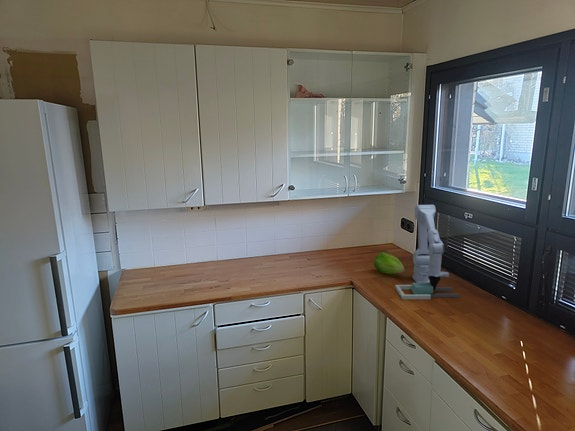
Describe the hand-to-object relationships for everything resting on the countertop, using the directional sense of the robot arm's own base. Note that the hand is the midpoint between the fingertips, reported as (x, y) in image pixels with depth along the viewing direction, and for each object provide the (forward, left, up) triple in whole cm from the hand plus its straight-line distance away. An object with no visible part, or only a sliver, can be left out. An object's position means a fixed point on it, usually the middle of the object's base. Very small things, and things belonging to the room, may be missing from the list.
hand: (433, 289), depth 201 cm
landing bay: (0, -10, -2) cm, 10 cm away
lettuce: (-28, -16, -3) cm, 32 cm away
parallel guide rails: (0, +4, -2) cm, 5 cm away
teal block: (0, -6, -2) cm, 6 cm away
